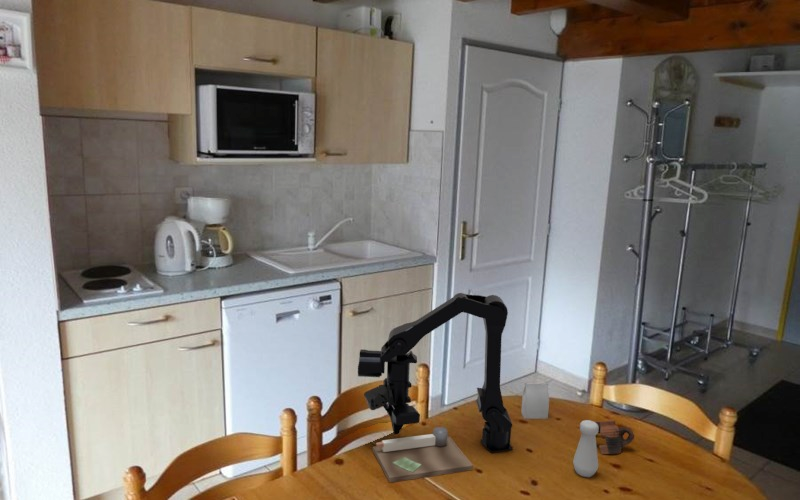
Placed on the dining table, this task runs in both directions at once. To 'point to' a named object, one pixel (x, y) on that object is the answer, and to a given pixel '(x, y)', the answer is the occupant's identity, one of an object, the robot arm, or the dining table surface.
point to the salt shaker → (587, 450)
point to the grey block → (535, 401)
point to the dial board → (422, 461)
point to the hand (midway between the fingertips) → (396, 433)
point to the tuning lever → (415, 441)
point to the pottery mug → (613, 437)
